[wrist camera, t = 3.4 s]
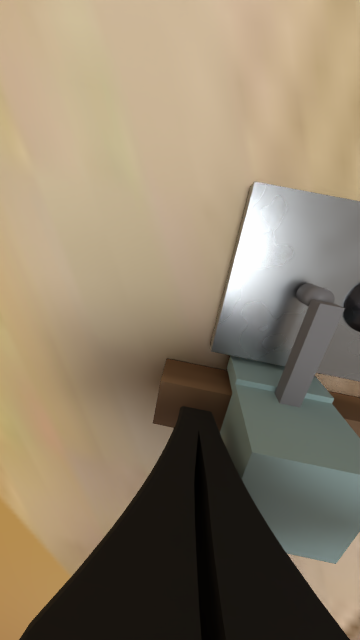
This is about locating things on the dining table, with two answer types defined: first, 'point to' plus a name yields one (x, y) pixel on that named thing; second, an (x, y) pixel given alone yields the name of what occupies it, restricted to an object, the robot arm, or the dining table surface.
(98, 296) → the dining table surface
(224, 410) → the trammel rail
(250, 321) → the flange plate
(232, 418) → the carriage
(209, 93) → the dining table surface
